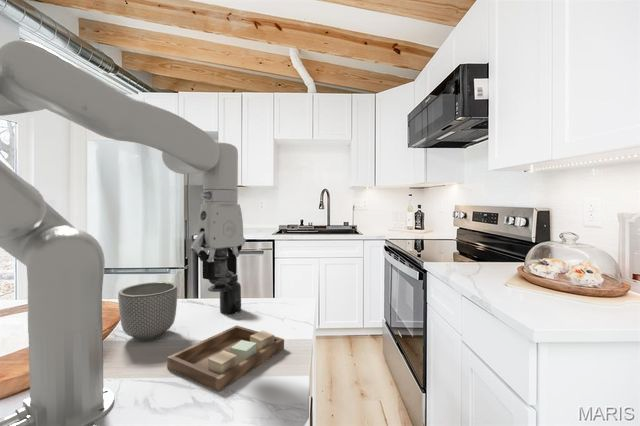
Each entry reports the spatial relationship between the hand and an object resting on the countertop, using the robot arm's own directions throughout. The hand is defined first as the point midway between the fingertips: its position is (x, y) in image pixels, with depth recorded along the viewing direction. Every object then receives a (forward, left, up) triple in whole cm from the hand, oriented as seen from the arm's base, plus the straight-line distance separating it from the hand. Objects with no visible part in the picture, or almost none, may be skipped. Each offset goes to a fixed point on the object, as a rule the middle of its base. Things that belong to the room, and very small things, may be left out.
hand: (220, 275), depth 72 cm
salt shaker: (0, 0, -3) cm, 3 cm away
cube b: (0, -7, -19) cm, 20 cm away
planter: (-2, +25, -19) cm, 32 cm away
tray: (0, -3, -19) cm, 19 cm away
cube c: (+6, -7, -19) cm, 21 cm away
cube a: (-6, -7, -19) cm, 21 cm away
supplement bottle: (+23, +21, -19) cm, 37 cm away
